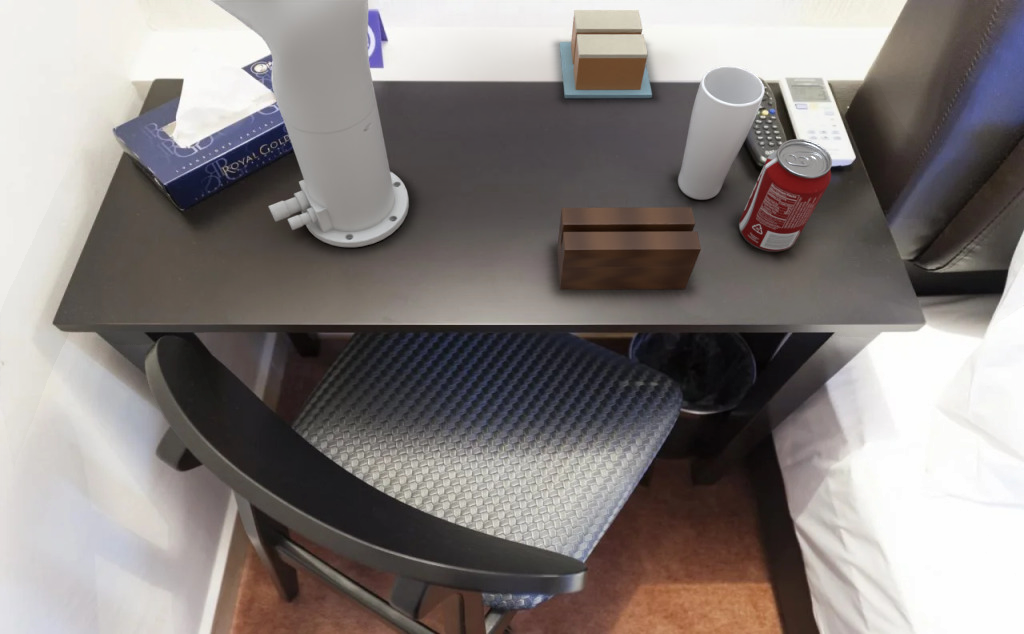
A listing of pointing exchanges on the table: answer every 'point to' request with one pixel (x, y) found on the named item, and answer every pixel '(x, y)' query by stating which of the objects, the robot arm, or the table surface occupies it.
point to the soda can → (785, 195)
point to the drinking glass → (718, 128)
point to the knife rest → (626, 248)
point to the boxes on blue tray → (605, 56)
